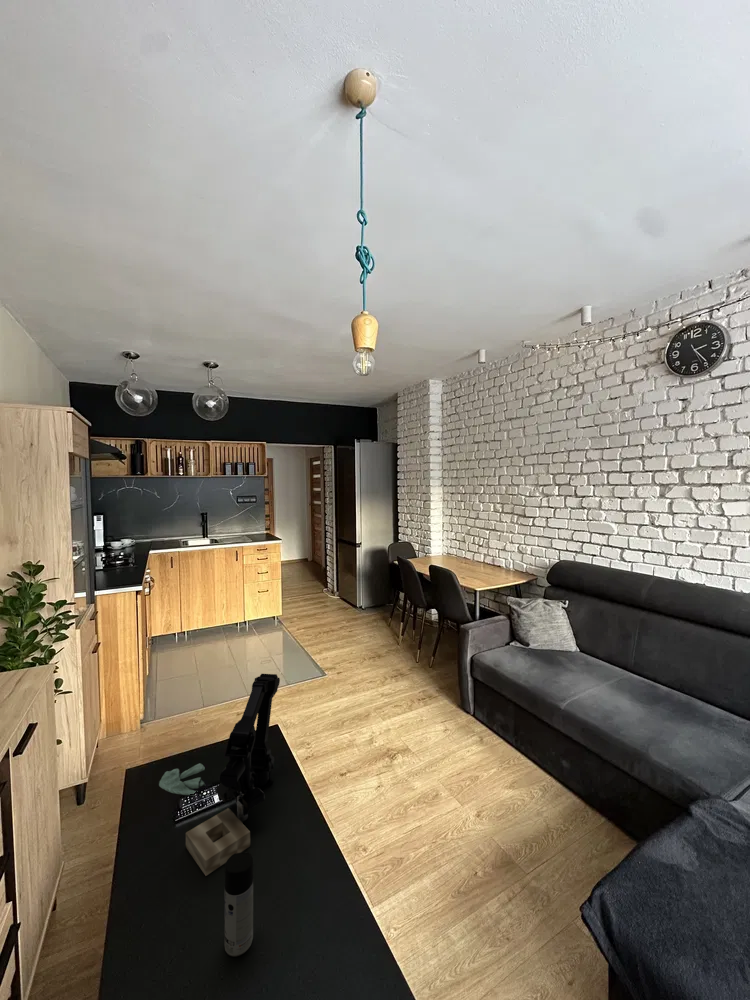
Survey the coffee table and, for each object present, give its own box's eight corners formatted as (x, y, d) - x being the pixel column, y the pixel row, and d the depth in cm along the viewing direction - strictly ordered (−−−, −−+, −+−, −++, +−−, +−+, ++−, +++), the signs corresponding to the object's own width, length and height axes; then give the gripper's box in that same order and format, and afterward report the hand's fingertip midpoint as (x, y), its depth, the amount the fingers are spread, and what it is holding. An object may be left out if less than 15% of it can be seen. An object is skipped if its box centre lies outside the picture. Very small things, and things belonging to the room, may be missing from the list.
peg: (244, 811, 143) (244, 789, 143) (250, 817, 140) (249, 794, 140) (235, 817, 140) (235, 794, 140) (240, 823, 138) (240, 799, 138)
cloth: (158, 772, 163) (158, 766, 163) (218, 758, 173) (218, 752, 172) (155, 808, 145) (155, 802, 145) (222, 790, 154) (222, 783, 154)
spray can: (228, 929, 105) (228, 851, 104) (256, 926, 105) (255, 849, 105) (221, 958, 98) (220, 875, 98) (250, 956, 99) (250, 873, 98)
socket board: (228, 821, 139) (228, 807, 139) (250, 845, 129) (250, 831, 129) (185, 847, 129) (185, 832, 129) (205, 876, 119) (205, 860, 119)
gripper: (206, 764, 140) (206, 810, 141) (233, 792, 128) (233, 842, 128) (237, 749, 149) (237, 792, 149) (265, 774, 136) (265, 821, 136)
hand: (242, 811), depth 140 cm, fingers closed on peg, 3 cm apart
